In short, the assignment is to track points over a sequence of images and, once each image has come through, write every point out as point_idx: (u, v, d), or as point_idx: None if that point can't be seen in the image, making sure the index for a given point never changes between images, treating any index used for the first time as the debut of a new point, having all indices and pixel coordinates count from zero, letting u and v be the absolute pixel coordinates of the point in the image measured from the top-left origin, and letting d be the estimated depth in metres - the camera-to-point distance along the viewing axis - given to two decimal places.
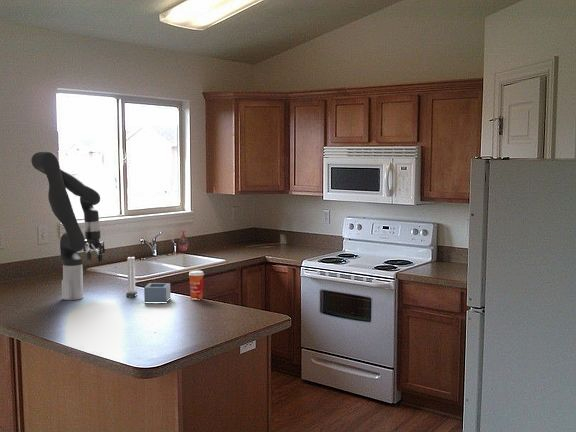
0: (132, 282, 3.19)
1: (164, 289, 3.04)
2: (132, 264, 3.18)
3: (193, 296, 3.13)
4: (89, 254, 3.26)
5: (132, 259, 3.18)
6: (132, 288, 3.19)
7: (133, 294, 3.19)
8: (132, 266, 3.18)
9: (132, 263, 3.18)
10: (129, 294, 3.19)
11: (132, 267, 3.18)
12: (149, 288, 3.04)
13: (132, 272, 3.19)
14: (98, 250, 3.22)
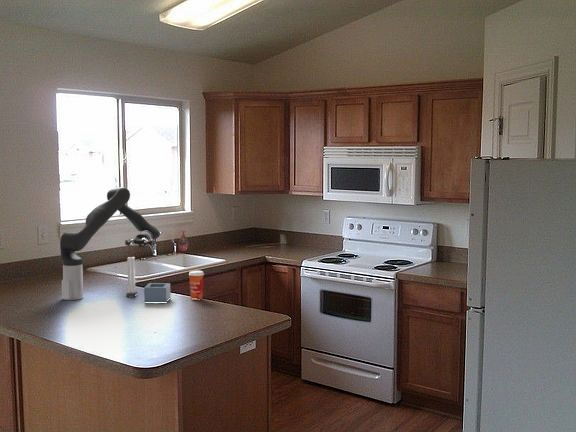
0: (132, 282, 3.19)
1: (164, 289, 3.04)
2: (132, 264, 3.18)
3: (193, 296, 3.13)
4: (130, 243, 3.33)
5: (132, 259, 3.18)
6: (132, 288, 3.19)
7: (133, 294, 3.19)
8: (132, 266, 3.18)
9: (132, 263, 3.18)
10: (129, 294, 3.19)
11: (132, 267, 3.18)
12: (149, 288, 3.04)
13: (132, 272, 3.19)
14: None
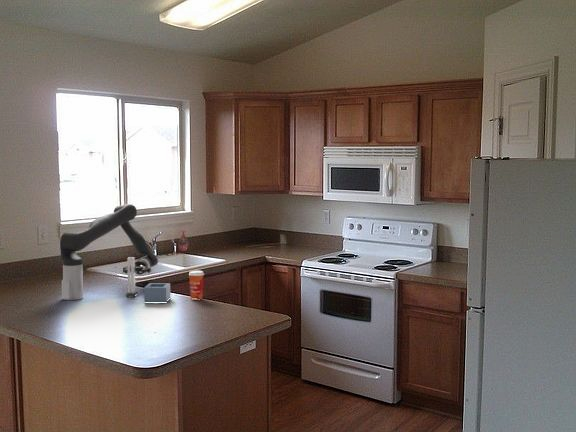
0: (132, 282, 3.19)
1: (164, 289, 3.04)
2: (132, 264, 3.18)
3: (193, 296, 3.13)
4: None
5: (132, 259, 3.18)
6: (132, 288, 3.19)
7: (133, 294, 3.19)
8: (132, 266, 3.18)
9: (132, 263, 3.18)
10: (129, 294, 3.19)
11: (132, 267, 3.18)
12: (149, 288, 3.04)
13: (132, 272, 3.19)
14: None
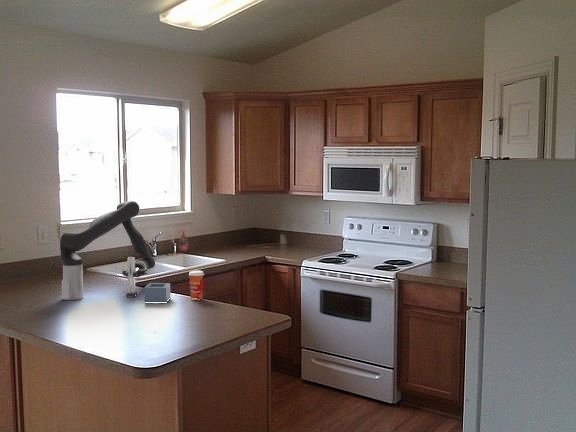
0: (132, 282, 3.19)
1: (164, 289, 3.04)
2: (132, 264, 3.18)
3: (193, 296, 3.13)
4: None
5: (132, 259, 3.18)
6: (132, 288, 3.19)
7: (133, 294, 3.19)
8: (132, 266, 3.18)
9: (132, 263, 3.18)
10: (129, 294, 3.19)
11: (132, 267, 3.18)
12: (149, 288, 3.04)
13: (132, 272, 3.19)
14: None
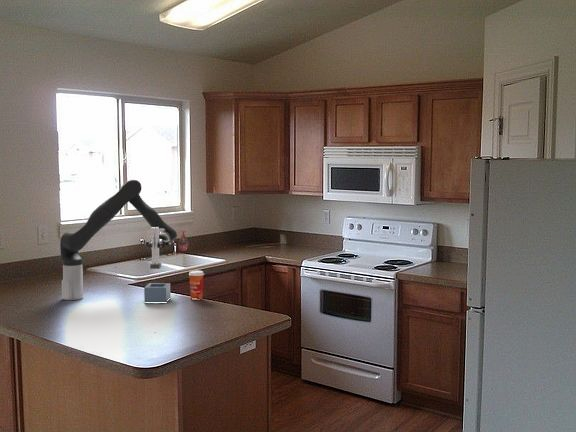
0: (156, 253, 3.08)
1: (164, 289, 3.04)
2: (156, 234, 3.07)
3: (193, 296, 3.13)
4: None
5: (156, 229, 3.07)
6: (156, 259, 3.08)
7: (157, 265, 3.08)
8: (156, 236, 3.07)
9: (156, 233, 3.07)
10: (153, 266, 3.08)
11: (156, 237, 3.07)
12: (149, 288, 3.04)
13: (156, 243, 3.07)
14: None
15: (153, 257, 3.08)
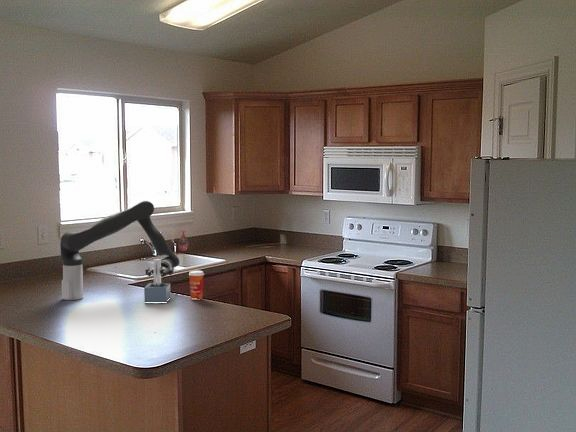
0: (158, 285, 3.08)
1: (164, 289, 3.04)
2: (158, 266, 3.07)
3: (193, 296, 3.13)
4: (151, 273, 3.10)
5: (158, 261, 3.07)
6: None
7: None
8: (158, 268, 3.07)
9: (158, 265, 3.07)
10: None
11: (158, 269, 3.07)
12: (149, 288, 3.04)
13: (158, 274, 3.08)
14: None
15: None
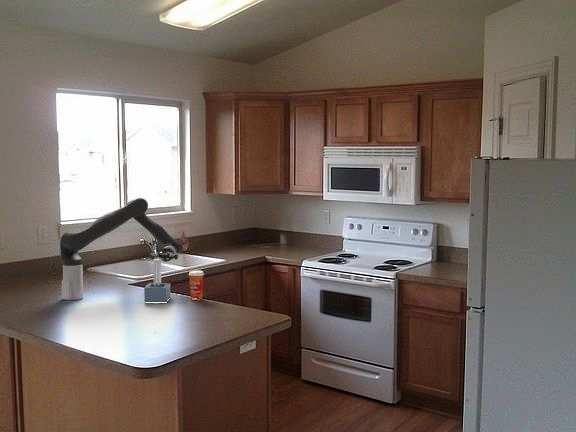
0: (158, 285, 3.08)
1: (164, 289, 3.04)
2: (158, 266, 3.07)
3: (193, 296, 3.13)
4: (154, 257, 3.22)
5: (158, 261, 3.07)
6: None
7: None
8: (158, 268, 3.07)
9: (158, 265, 3.07)
10: None
11: (158, 269, 3.07)
12: (149, 288, 3.04)
13: (158, 274, 3.08)
14: None
15: None
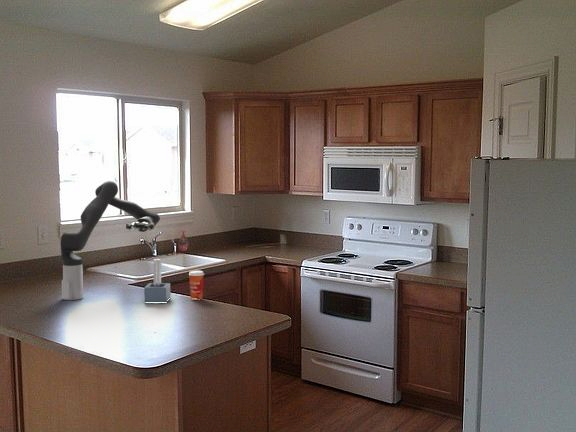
0: (158, 285, 3.08)
1: (164, 289, 3.04)
2: (158, 266, 3.07)
3: (193, 296, 3.13)
4: (131, 226, 3.32)
5: (158, 261, 3.07)
6: None
7: None
8: (158, 268, 3.07)
9: (158, 265, 3.07)
10: None
11: (158, 269, 3.07)
12: (149, 288, 3.04)
13: (158, 274, 3.08)
14: None
15: None
